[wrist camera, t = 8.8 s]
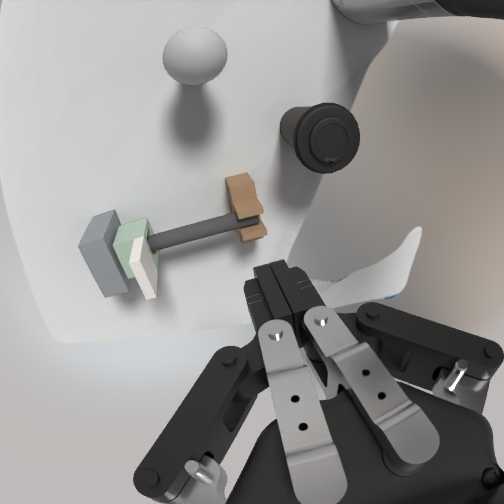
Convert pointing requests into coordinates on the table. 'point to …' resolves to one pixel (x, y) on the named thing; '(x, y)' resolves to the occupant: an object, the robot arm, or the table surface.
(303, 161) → the coffee cup
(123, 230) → the white-faced green block
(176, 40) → the lightbulb
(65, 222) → the table surface
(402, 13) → the robot arm
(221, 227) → the rod rig
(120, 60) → the table surface
